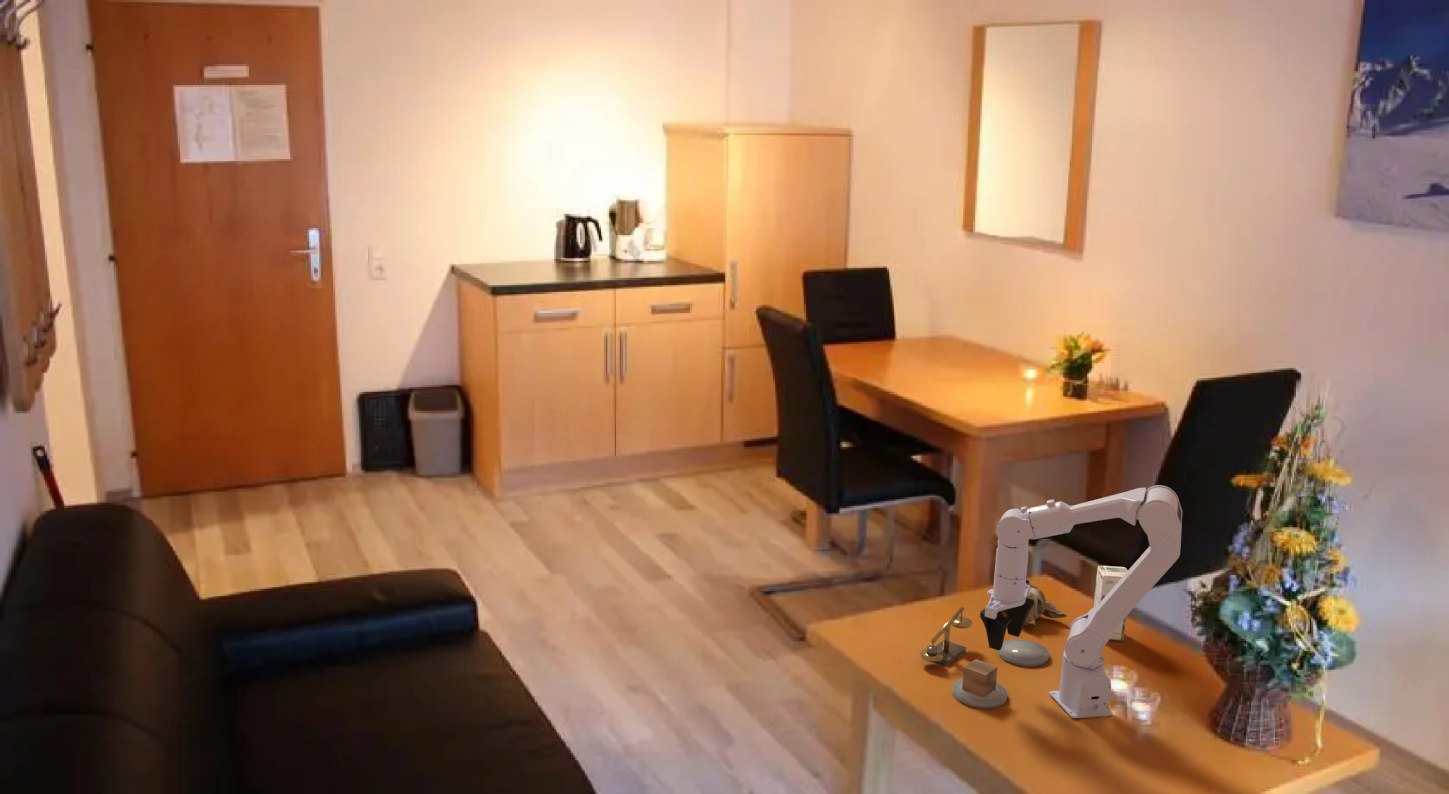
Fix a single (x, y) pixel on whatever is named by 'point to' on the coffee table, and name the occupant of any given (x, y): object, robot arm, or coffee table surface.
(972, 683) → the walnut block
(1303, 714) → the coffee table surface
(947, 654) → the bronze balance
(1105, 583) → the syrup box
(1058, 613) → the ceramic sculpture
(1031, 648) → the right dish
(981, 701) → the left dish
